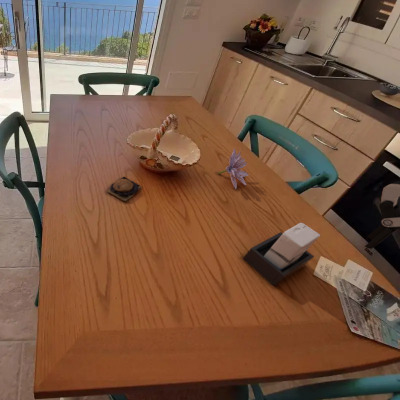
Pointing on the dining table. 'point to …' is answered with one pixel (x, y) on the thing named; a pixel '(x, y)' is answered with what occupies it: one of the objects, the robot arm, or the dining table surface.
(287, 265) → the ink box
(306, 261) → the holder
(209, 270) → the dining table surface
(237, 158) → the water lily
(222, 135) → the dining table surface
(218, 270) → the dining table surface
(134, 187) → the square push button
